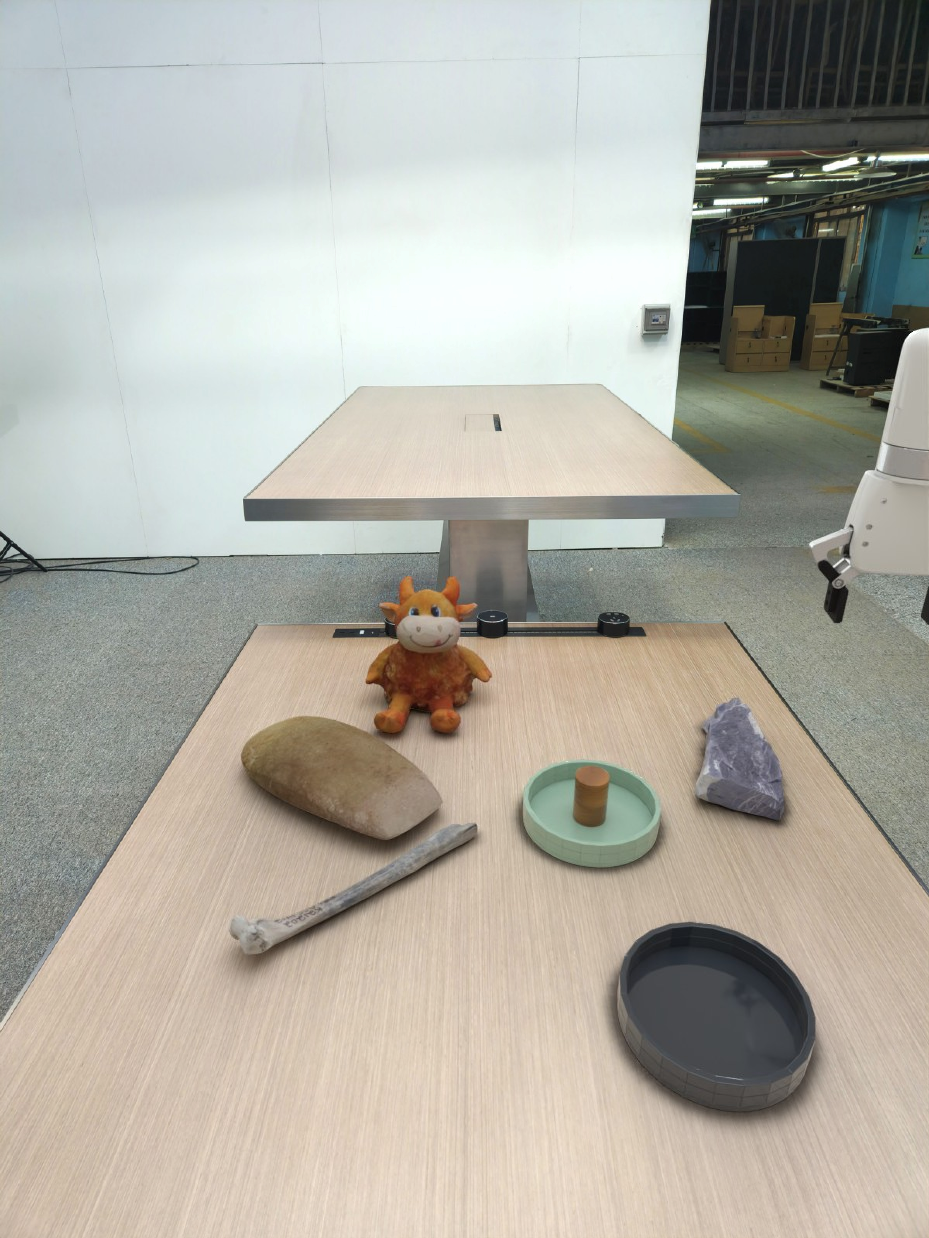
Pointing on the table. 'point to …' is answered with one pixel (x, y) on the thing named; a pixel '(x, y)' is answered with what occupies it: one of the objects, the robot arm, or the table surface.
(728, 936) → the slate bowl
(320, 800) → the stone
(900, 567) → the robot arm
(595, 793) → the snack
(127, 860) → the table surface
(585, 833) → the green bowl
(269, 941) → the bone
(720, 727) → the rock
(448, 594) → the toy
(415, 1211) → the table surface
